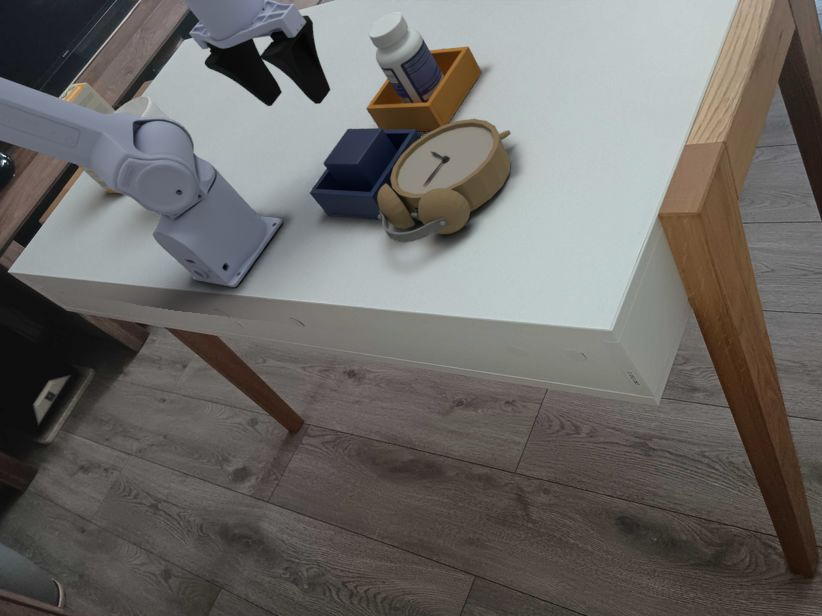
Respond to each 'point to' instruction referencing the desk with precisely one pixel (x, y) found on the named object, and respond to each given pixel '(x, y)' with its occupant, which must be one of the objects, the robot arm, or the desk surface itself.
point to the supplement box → (93, 101)
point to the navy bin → (355, 201)
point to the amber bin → (441, 104)
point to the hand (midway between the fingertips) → (298, 98)
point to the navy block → (360, 158)
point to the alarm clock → (444, 179)
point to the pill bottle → (405, 59)
